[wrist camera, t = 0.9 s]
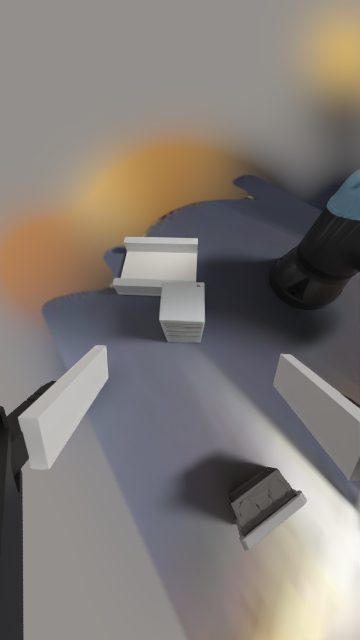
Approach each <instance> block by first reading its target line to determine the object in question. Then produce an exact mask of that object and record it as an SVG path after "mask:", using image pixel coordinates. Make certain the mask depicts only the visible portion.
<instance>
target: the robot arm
mask: <svg viewBox="0 0 360 640" xmlns="http://www.w3.org/2000/svg"><path fill="white" fill-rule="evenodd" d="M358 272H360V169H359V170H357V171H356V172H354V173H353V174H352V175H351V176H350V177H349V178H348V179H347V180H346V182H345V183H344V184H343V185H342V187H341V188H340V189H339V190H338V192H337V193H336V194H335V195H334V196H333V197H331V199H330V200H329V202H328V204H327V206H326V208H325V209H324V211H323V212H322V213H321V215H320V216H319V217H318V219H317V220H316V222H315V223H314V224H313V226H312V227H311V228H310V230H309V231H308V232H307V234H306V235H305V237H304V238H303V239H302V241H301V242H300V243H299V245H298V246H296V247H295V248H294V249H292V250H291V251H289V252H288V253H287V254H285V255H284V256H283V257H281V258H280V259H279V260H278V261H277V262H276V264H275V265H274V267H273V269H272V270H271V274H270V282H271V285H272V287H273V289H274V291H275V292H276V294H277V295H278V296H279V297H280V298H281V299H282V300H284V301H285V302H287V303H288V304H290V305H292V306H295V307H298V308H302V309H319V308H322V307H325V306H327V305H328V304H330V303H331V302H333V301H334V300H335V299H336V298H338V296H339V295H340V294H341V292H342V290H343V288H344V287H345V285H346V284H347V283H348V281H349V280H350V278H351V277H353V276H354V275H355V274H357V273H358ZM107 379H108V364H107V350H106V346H103V345H95V346H94V347H93V348H92V349H91V350H90V351H89V352H88V353H87V354H86V355H85V356H84V357H83V358H81V359H80V360H79V361H78V362H77V363H76V364H75V365H74V366H73V367H72V368H71V369H70V370H68V371H67V372H66V373H65V374H64V375H63V376H62V377H61V378H60V379H59V380H58V381H51V382H49V383H47V384H45V385H44V386H42V387H41V388H39V389H38V390H37V391H36V392H35V393H34V394H33V395H31V396H30V397H29V398H28V399H27V401H24V402H23V403H22V404H21V405H20V406H19V407H17V408H16V409H15V410H14V411H13V412H12V413H10V414H9V415H8V416H7V417H6V414H5V411H4V408H3V407H1V406H0V640H23V523H22V522H23V519H22V518H23V517H22V516H23V511H22V471H21V468H22V466H23V465H24V464H25V462H26V461H27V460H28V459H29V462H30V467H31V469H50V467H51V466H52V464H53V463H54V461H55V460H56V458H57V457H58V455H59V453H60V452H61V450H62V449H63V447H64V446H65V444H66V443H67V441H68V440H69V438H70V436H71V435H72V433H73V432H74V430H75V429H76V427H77V426H78V424H79V422H80V421H81V419H82V418H83V416H84V415H85V413H86V412H87V410H88V409H89V407H90V405H91V404H92V402H93V401H94V399H95V398H96V396H97V395H98V393H99V392H100V390H101V388H102V387H103V385H104V384H105V382H106V381H107ZM273 385H274V387H275V388H276V389H277V390H278V392H279V393H280V394H281V395H282V397H283V398H284V399H285V400H286V402H287V403H288V404H289V405H290V407H291V408H292V409H293V411H294V412H295V413H296V414H297V416H298V417H299V418H300V419H301V421H302V422H303V423H304V424H305V426H306V427H307V428H308V429H309V431H310V432H311V433H312V434H313V436H314V437H315V438H316V439H317V441H318V442H319V443H320V445H321V446H322V447H323V448H324V450H325V451H326V452H327V453H328V455H329V456H330V457H331V458H332V460H333V461H334V462H335V463H336V465H337V466H338V467H339V468H340V470H341V471H342V472H343V473H344V475H345V476H346V477H347V479H348V480H353V481H360V405H358V404H357V403H356V402H354V401H353V400H352V399H350V398H348V397H346V396H345V395H343V394H341V393H339V392H338V391H337V390H335V389H334V388H333V387H331V386H330V385H329V384H328V383H326V382H325V381H324V380H323V379H321V378H320V377H319V376H317V375H316V374H315V373H314V372H312V371H311V370H310V369H309V368H307V367H306V366H305V365H303V364H302V363H301V362H300V361H298V360H297V359H296V358H295V357H293V356H292V355H291V354H280V359H279V363H278V367H277V371H276V375H275V380H274V384H273Z"/></svg>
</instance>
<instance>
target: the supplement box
mask: <svg viewBox="0 0 360 640" xmlns="http://www.w3.org/2000/svg"><path fill="white" fill-rule="evenodd" d="M159 321H160V324H161V326H162V329H163V331H164V334H165V336H166V339H167V341H168V342H187V343H200V342H201V337H202V333H203V329H204V324H205V289H204V282H163V283H162V291H161V302H160V313H159Z"/></svg>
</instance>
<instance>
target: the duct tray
mask: <svg viewBox="0 0 360 640" xmlns="http://www.w3.org/2000/svg"><path fill="white" fill-rule="evenodd" d="M124 245H125V247H126V250H127V254H126V258H125V263H124V267H123V271H122V275H121V278H114V281H113V287H114V288H115V290H116V291H117V293H118V294H120V295H145V296H161V291H162V283H163V282H196V268H197V248H198V238H152V237H125V239H124Z"/></svg>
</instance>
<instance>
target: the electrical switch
mask: <svg viewBox="0 0 360 640" xmlns="http://www.w3.org/2000/svg"><path fill="white" fill-rule="evenodd" d="M267 468H268V469H267ZM267 468H264V469H263V470H262V471H260V472H259V473H258V474H256V475H255V476H253V477H252V478H251V479H249V480H248V481H247V482H245V483H244V484H243V485H241V486H240V487H239V488H237V489H236V490H234V491H233V492H232V493H230V494H229V496H230V497H229V500H230V504H231V507H232V509H233V511H234V513H235V516H236V518H237V519H236V521H235V522H236V524H237V526H238V530H239V534H240V537H239V539H240V542H241V544H242V546H243V547H244V549H245V550H249V549H250V548H252V547H253V546H254V545H255V544H256V543H258V542H259V541H260V540H261V539H263V538H264V537H265V536H266V535H268V534H269V533H270V532H271V531H272V530H274V529H275V528H276V527H277V526H279V525H280V524H281V523H282V522H284V521H285V520H286V519H287V518H288V517H290V516H291V515H292V514H293V513H295V512H296V511H297V510H298V509H300V508H301V507H302V506H303V505H304V504H306V501H307V499H306V498H305V496H304V495H303V493H302V492H301V491H296V490H294V489H292V488H291V486H290V485H289V483H288V482H287V481H286V480H285V479H284V477H283V476H282V474H281V473H280V471H279V470H278V469H276V468H271V467H267ZM268 470H269V471H268ZM257 477H258V478H257ZM230 498H231V499H230ZM231 500H232V501H231Z"/></svg>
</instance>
